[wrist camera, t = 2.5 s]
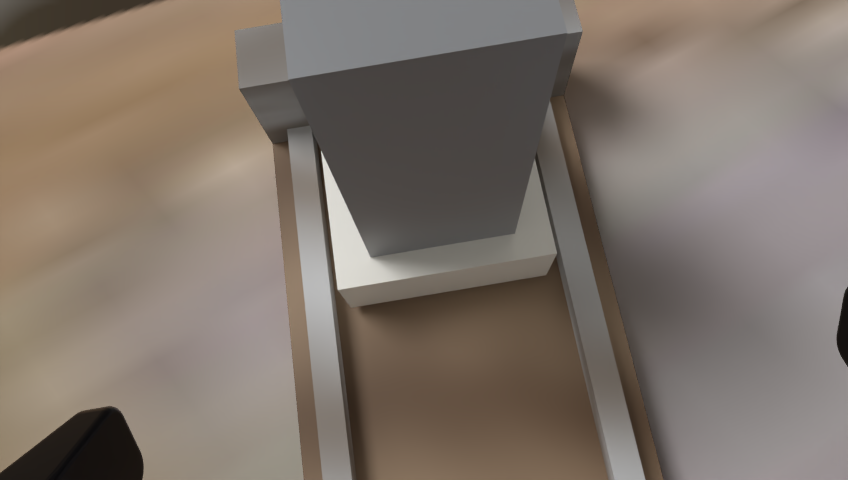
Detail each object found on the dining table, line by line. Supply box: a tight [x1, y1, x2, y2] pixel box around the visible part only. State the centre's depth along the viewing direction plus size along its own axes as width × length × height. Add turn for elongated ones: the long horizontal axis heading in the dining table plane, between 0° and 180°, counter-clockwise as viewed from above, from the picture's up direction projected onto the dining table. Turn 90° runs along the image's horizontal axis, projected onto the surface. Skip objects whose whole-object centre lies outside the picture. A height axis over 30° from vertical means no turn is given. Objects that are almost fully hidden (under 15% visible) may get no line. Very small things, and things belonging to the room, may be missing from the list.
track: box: [235, 0, 663, 480], centre depth 17 cm, size 24×10×4 cm, turn 9°
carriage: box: [280, 0, 567, 308], centre depth 15 cm, size 6×6×11 cm
